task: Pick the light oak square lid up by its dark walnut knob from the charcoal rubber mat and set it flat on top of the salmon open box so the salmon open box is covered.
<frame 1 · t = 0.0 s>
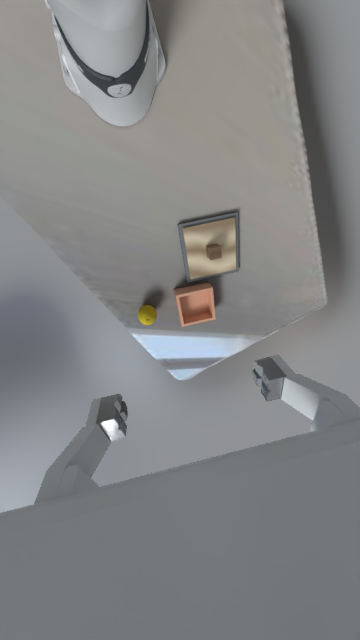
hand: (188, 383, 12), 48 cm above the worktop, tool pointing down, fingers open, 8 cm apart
lemon: (147, 308, 62), on the worktop
lid: (210, 249, 54), point 1 cm above the worktop, touching mat
salmon open box: (193, 301, 63), on the worktop
mat: (209, 249, 55), on the worktop
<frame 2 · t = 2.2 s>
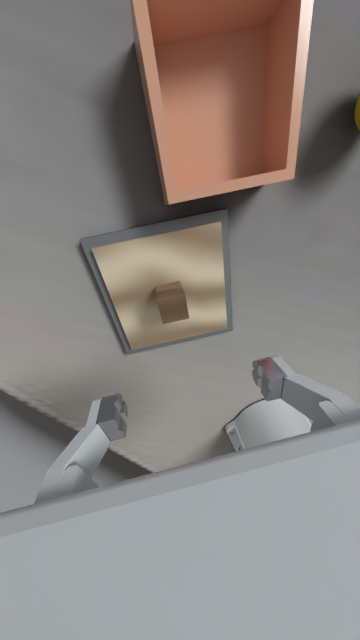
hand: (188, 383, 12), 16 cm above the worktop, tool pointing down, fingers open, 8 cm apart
lemon: (359, 110, 19), on the worktop
lid: (169, 293, 25), point 1 cm above the worktop, touching mat
salmon open box: (210, 124, 18), on the worktop
mat: (168, 290, 25), on the worktop
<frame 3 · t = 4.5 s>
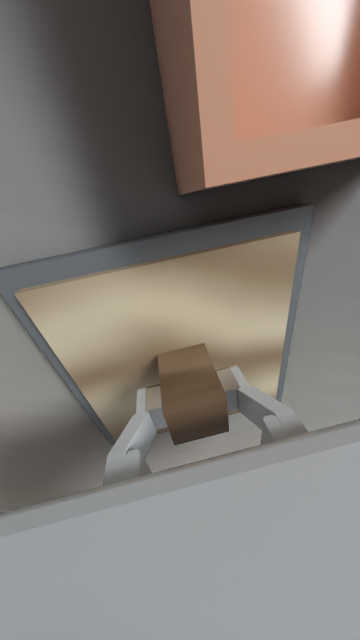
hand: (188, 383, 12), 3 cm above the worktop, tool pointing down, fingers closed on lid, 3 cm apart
lid: (183, 359, 13), point 1 cm above the worktop, touching gripper, mat
mat: (180, 350, 14), on the worktop
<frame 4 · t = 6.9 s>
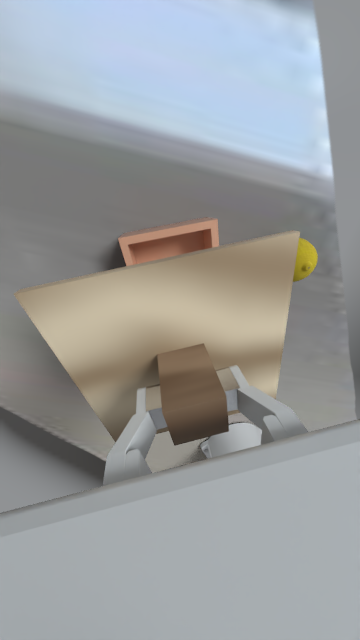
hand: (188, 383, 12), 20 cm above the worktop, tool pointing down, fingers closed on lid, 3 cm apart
lemon: (271, 253, 29), on the worktop
lid: (182, 359, 13), point 18 cm above the worktop, touching gripper
salmon open box: (172, 266, 28), on the worktop
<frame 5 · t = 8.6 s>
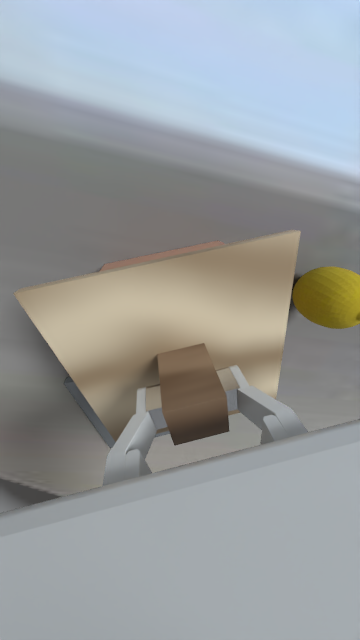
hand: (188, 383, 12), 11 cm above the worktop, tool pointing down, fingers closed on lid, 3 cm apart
lemon: (299, 282, 23), on the worktop
lid: (183, 359, 13), point 9 cm above the worktop, touching gripper
salmon open box: (172, 303, 21), on the worktop
mat: (145, 401, 29), on the worktop
when the fingers open (9 cm above the worktop, at t = 9.8 s): lid drops 1 cm, resting on salmon open box.
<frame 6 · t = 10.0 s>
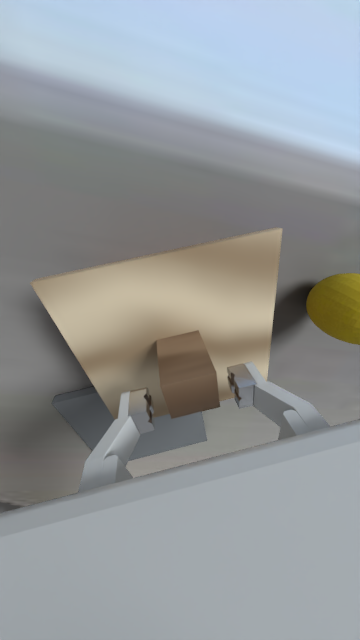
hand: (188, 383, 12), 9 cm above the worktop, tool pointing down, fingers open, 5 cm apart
lemon: (313, 289, 20), on the worktop
lid: (179, 346, 15), point 5 cm above the worktop, touching salmon open box
mat: (143, 418, 27), on the worktop
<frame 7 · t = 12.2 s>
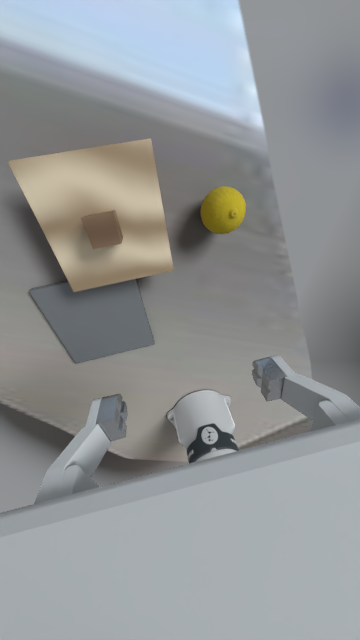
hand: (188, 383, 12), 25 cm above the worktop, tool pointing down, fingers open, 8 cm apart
lemon: (211, 209, 30), on the worktop
lid: (107, 225, 24), point 5 cm above the worktop, touching salmon open box
mat: (101, 318, 35), on the worktop
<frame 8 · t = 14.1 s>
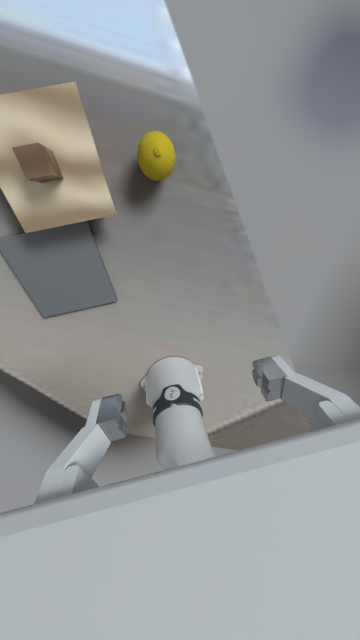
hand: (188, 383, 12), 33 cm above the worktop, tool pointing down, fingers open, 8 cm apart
lemon: (155, 162, 32), on the worktop
lid: (48, 167, 27), point 5 cm above the worktop, touching salmon open box
mat: (64, 272, 39), on the worktop
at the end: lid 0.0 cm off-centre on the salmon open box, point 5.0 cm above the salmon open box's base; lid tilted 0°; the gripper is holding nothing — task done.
